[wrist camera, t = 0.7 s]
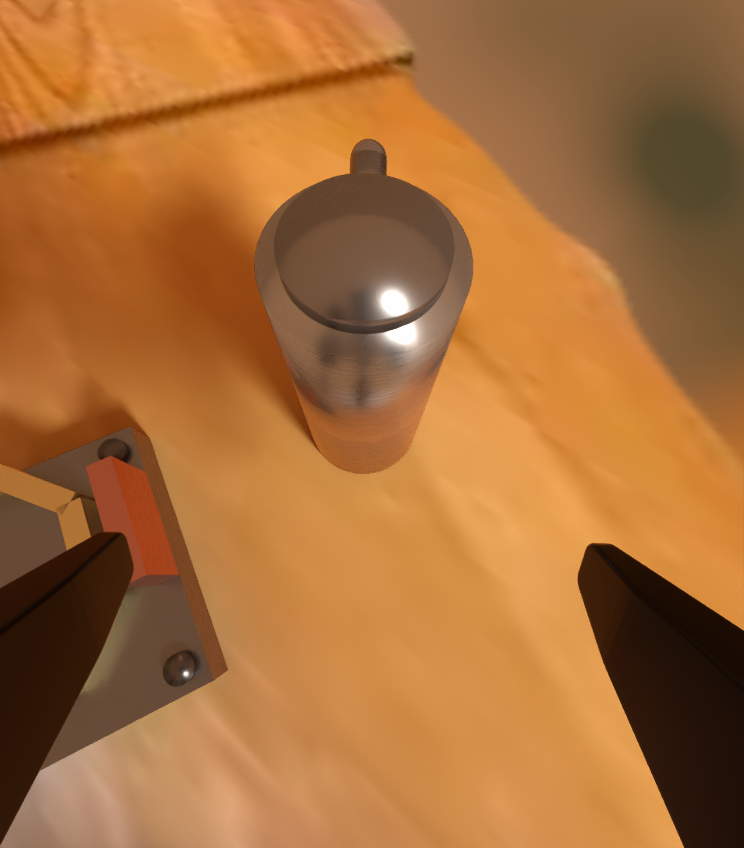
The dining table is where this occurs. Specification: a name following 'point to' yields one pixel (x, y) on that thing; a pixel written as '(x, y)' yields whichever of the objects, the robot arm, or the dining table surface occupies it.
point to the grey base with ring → (149, 587)
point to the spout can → (363, 305)
